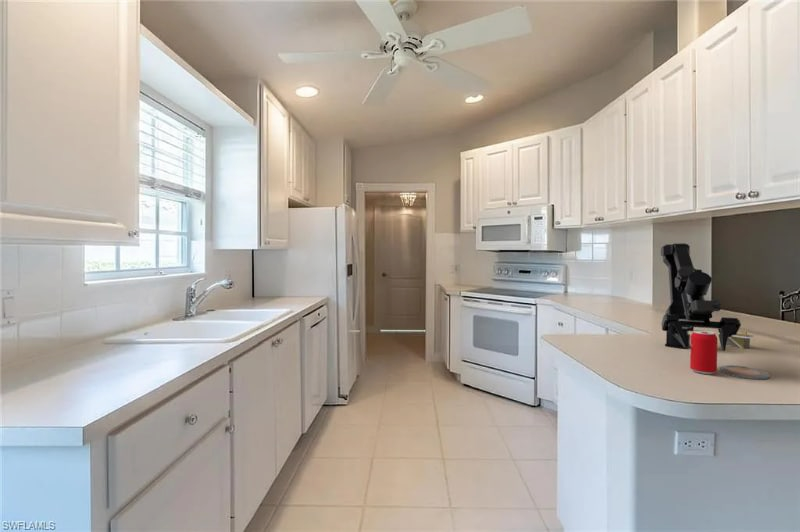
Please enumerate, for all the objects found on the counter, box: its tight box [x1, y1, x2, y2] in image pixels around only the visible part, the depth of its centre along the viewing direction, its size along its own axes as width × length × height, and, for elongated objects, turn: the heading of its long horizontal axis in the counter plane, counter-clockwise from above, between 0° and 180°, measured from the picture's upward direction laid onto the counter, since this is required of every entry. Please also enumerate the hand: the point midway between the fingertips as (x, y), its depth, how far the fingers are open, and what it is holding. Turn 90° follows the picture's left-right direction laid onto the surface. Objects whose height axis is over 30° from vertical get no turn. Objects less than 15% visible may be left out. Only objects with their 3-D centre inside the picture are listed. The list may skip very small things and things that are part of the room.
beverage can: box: [689, 329, 718, 375], centre depth 115 cm, size 6×6×12 cm
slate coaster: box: [718, 364, 770, 380], centre depth 114 cm, size 11×11×1 cm
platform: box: [717, 330, 755, 349], centre depth 143 cm, size 12×18×7 cm, turn 40°
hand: (704, 348), depth 114 cm, fingers open, 9 cm apart
